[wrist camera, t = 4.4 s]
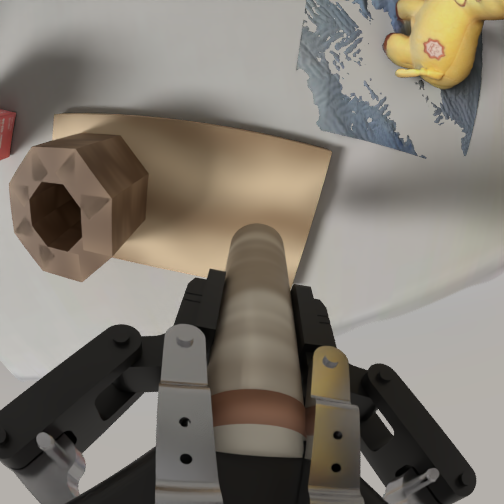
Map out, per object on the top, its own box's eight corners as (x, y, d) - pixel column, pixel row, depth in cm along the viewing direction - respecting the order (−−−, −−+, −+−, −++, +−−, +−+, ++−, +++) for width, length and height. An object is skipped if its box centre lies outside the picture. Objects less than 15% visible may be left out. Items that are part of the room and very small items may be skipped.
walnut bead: (56, 132, 18) (7, 146, 13) (152, 138, 19) (114, 152, 13) (58, 230, 22) (20, 263, 17) (144, 249, 23) (114, 291, 17)
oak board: (62, 113, 18) (54, 114, 17) (328, 149, 20) (332, 151, 19) (63, 238, 24) (56, 244, 23) (288, 284, 25) (289, 292, 24)
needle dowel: (234, 217, 16) (192, 440, 5) (290, 228, 16) (330, 450, 5) (225, 266, 17) (189, 474, 6) (277, 275, 17) (289, 483, 7)
